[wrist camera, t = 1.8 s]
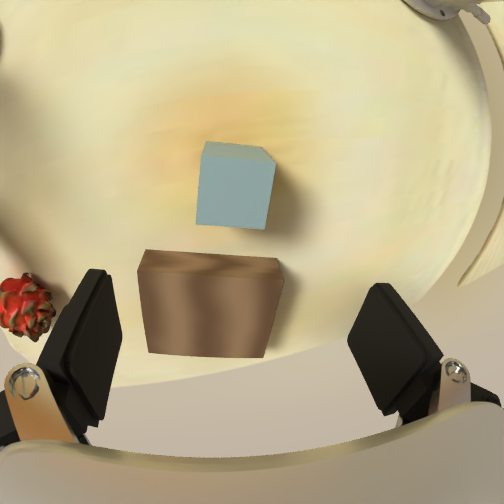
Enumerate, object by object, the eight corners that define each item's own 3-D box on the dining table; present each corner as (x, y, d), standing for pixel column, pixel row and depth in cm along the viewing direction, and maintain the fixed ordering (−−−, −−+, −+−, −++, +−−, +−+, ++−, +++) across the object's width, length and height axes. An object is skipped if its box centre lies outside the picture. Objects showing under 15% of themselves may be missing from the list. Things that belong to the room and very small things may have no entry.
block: (261, 146, 24) (276, 163, 18) (253, 197, 27) (264, 229, 21) (205, 141, 23) (201, 155, 17) (200, 193, 26) (195, 224, 20)
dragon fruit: (74, 285, 31) (23, 283, 32) (31, 261, 23) (-14, 263, 24) (67, 349, 28) (16, 337, 28) (20, 338, 20) (-24, 325, 21)
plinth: (276, 258, 30) (284, 279, 27) (259, 334, 36) (263, 357, 33) (145, 249, 28) (137, 270, 24) (153, 329, 34) (148, 352, 30)
